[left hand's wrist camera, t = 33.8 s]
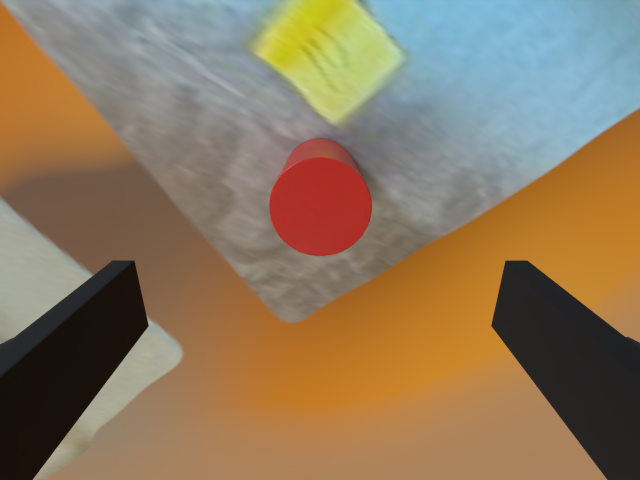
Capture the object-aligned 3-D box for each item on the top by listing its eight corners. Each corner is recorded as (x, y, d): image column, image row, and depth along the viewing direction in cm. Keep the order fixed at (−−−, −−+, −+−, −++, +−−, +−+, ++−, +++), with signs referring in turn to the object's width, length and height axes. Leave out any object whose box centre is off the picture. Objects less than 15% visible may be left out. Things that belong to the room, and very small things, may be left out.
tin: (283, 207, 34) (268, 253, 24) (285, 136, 31) (269, 153, 21) (352, 211, 34) (365, 258, 24) (359, 140, 31) (377, 160, 21)
